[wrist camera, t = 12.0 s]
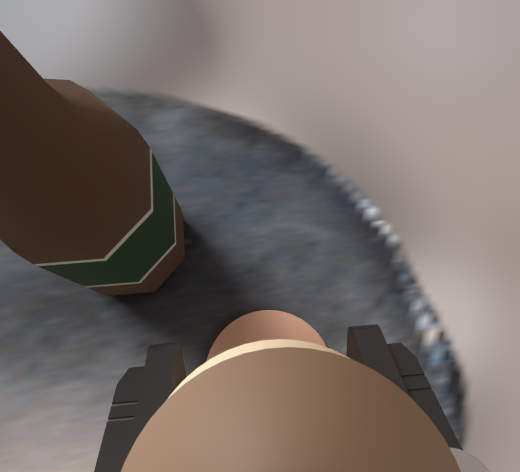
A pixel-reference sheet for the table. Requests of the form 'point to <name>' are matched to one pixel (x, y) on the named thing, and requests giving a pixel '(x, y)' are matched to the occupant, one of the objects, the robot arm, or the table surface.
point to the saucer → (263, 330)
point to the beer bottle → (81, 186)
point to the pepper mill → (288, 418)
